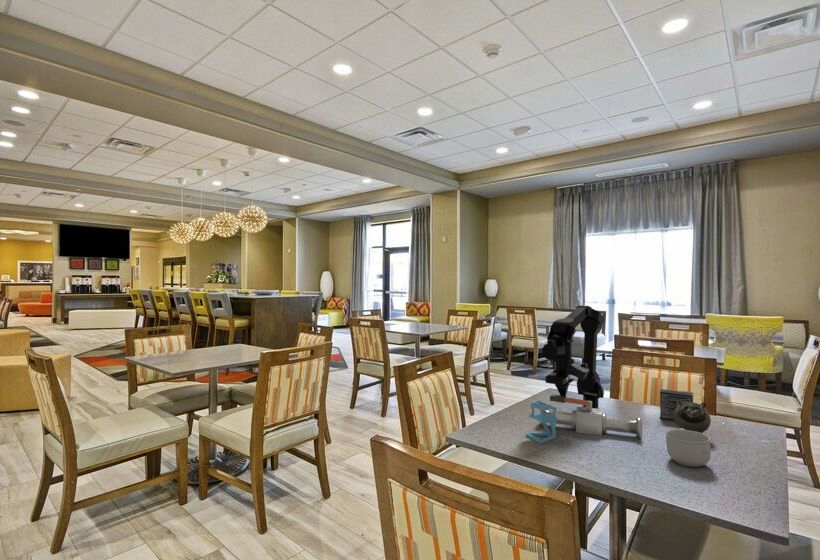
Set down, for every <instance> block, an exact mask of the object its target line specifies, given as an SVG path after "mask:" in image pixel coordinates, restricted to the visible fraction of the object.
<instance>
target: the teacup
mask: <svg viewBox="0 0 820 560" xmlns="http://www.w3.org/2000/svg"><path fill="white" fill-rule="evenodd" d="M664 436H665V443H666V451H667V453H668V455H669V457H670V458H671V459H672V460H674V462H676V463H677V464H679V465H681V466H685V467H690V468H691V467H692V468H700V467H702V466H704V465H706V464H707V463H709V461H710V459H711V450H712V449H711V440H712V439H711V437H710V436H709V435H707V434H705V433H704V432H703V433H700V432H696V431H690V430H685V429H683V428H680V427H679V428H678V429H669V430H667V431H666V432H665V435H664Z"/></svg>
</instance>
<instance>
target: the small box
mask: <svg viewBox="0 0 820 560" xmlns="http://www.w3.org/2000/svg"><path fill="white" fill-rule="evenodd" d="M659 395H660V397H659V401H660V403H659V404H660V405H659V408H660V409H659V410H660V413H659V419H660V420H664V421H670V422H671V421H672V422H675V421H674V411H675V409H676V407H677V406H678V405H679V399H680V400H683V402H693V401H694V399H693V397H694V396H693V392H690V391H679V390H672V389H663V388H660V390H659Z"/></svg>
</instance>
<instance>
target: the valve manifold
mask: <svg viewBox="0 0 820 560" xmlns="http://www.w3.org/2000/svg"><path fill="white" fill-rule="evenodd" d="M553 411H554V410H553V409H548V410H546V413H547V414H549V415H551V416H552V414H553ZM539 413H541V411H540V410H539ZM555 417H556V418H558V421H557V422H556V425H563V426H570V427H571V429H572V430H575V433H580V434H587V435H595V436H601V437H602V435H603V434H607V431H609V432H616V433H617V432H618V433H625V434H633V435H635V437H636V438H637V439H642V438H643V421H642V420H643V419H642V418H641V417H638V416H637V417H636V416H635V419H629V418H628V419H626V418H620V417H619V418H618V417H611V416H610V417H609V416H607V414H606V413H603V412H602V409H601V408H599V409H595V408H592V410H586V407H583V406H576V409H572V410H571V412H568V411H561V410H560V411H558V410H556V412H555ZM539 425H540V426H543V424H542V423H541V422H539Z"/></svg>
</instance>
